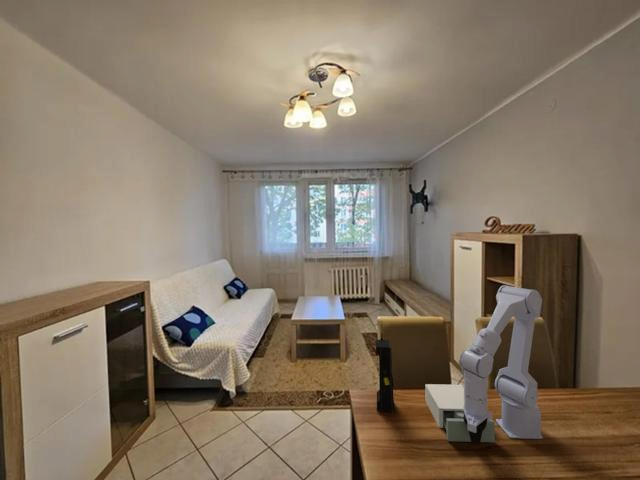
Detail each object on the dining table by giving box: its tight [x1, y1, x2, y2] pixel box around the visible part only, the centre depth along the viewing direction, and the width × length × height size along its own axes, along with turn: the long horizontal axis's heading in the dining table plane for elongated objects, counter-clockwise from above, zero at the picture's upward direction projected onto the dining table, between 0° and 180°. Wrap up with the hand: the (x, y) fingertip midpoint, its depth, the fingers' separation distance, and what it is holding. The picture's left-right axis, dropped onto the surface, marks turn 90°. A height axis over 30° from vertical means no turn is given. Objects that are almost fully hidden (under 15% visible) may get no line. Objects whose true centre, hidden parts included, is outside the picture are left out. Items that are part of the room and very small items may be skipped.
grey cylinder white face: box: [452, 411, 465, 419], centre depth 88 cm, size 6×6×4 cm
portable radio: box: [375, 332, 395, 413], centre depth 99 cm, size 8×6×25 cm
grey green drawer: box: [443, 410, 496, 443], centre depth 88 cm, size 13×13×6 cm
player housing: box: [424, 383, 464, 429], centre depth 95 cm, size 14×14×6 cm
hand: (475, 441), depth 79 cm, fingers closed
